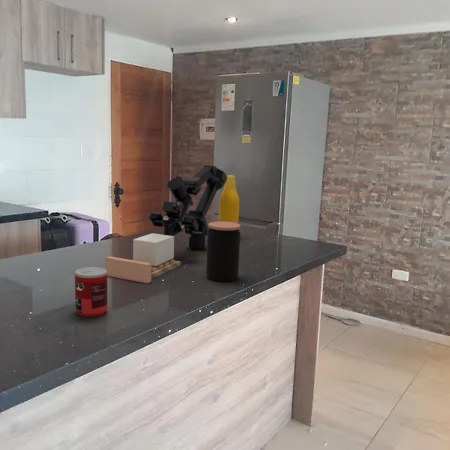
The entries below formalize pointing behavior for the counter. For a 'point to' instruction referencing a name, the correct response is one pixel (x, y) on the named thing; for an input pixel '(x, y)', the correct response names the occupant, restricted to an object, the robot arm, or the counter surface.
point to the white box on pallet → (153, 249)
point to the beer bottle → (229, 202)
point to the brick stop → (128, 269)
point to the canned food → (91, 291)
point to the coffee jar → (223, 251)
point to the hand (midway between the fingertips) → (165, 240)
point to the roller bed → (163, 268)
